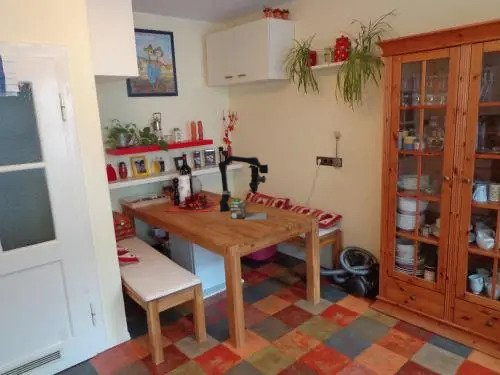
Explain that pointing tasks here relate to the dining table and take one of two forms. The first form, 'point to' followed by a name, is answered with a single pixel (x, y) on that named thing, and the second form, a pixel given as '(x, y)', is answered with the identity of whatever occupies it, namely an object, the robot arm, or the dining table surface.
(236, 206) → the chalk box
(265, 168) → the robot arm
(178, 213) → the dining table surface
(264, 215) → the mat
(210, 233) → the dining table surface
